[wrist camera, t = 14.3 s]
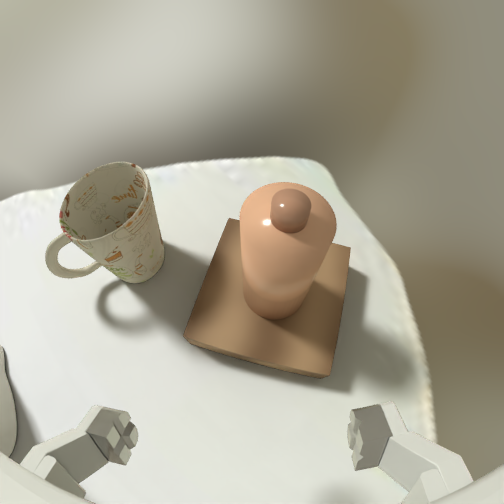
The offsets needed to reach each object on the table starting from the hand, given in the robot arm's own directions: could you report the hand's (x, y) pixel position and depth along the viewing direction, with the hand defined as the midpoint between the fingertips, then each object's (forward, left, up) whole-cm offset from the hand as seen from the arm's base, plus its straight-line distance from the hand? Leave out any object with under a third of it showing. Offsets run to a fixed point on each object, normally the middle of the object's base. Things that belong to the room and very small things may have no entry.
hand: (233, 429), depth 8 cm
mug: (-16, +9, -15) cm, 24 cm away
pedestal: (0, +10, -15) cm, 18 cm away
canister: (0, +10, -12) cm, 16 cm away
